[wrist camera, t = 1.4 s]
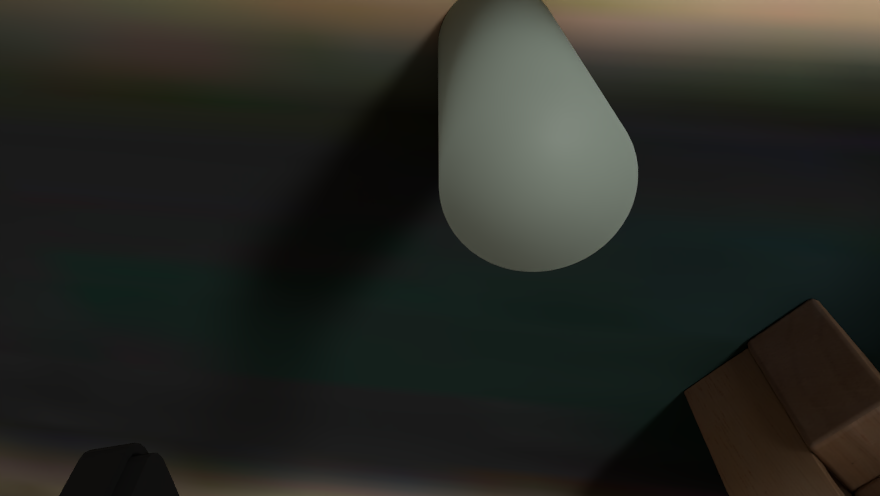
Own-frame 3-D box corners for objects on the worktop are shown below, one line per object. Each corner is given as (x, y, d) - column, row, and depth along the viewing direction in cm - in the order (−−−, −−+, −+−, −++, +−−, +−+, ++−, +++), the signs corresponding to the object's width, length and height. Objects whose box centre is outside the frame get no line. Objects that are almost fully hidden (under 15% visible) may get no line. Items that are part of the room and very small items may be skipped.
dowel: (550, -28, 26) (630, 69, 15) (564, 92, 28) (644, 255, 17) (427, -4, 26) (421, 106, 16) (449, 113, 28) (457, 285, 17)
